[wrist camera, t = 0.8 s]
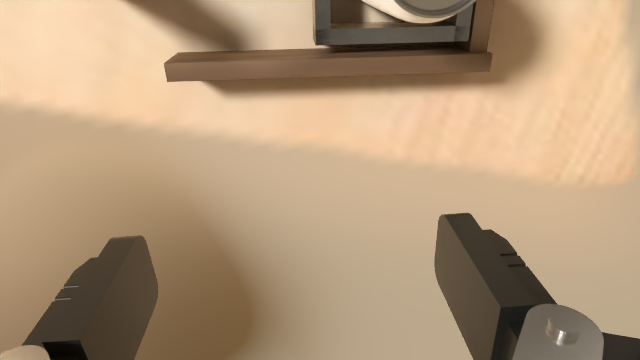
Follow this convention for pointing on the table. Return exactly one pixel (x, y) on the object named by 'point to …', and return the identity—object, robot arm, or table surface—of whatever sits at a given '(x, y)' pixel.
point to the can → (420, 9)
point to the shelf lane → (341, 58)
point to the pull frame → (387, 29)
